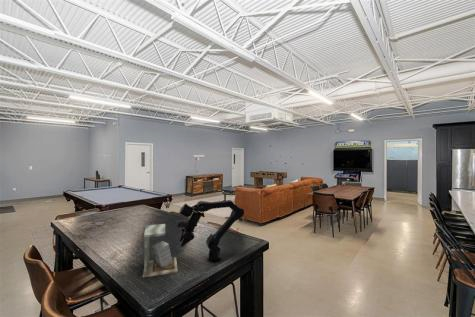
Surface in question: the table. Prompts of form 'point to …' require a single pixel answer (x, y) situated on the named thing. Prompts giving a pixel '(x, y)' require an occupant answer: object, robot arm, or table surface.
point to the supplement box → (162, 254)
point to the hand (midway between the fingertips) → (180, 243)
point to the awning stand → (151, 266)
